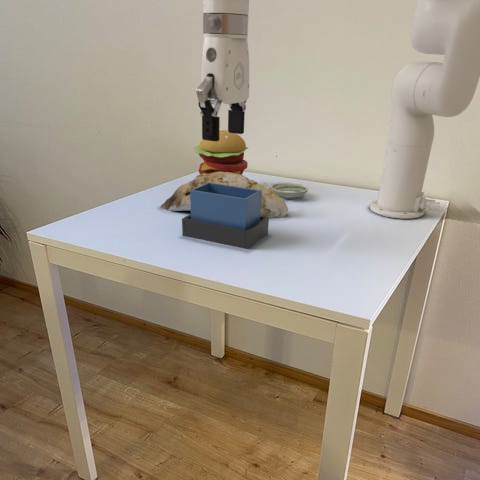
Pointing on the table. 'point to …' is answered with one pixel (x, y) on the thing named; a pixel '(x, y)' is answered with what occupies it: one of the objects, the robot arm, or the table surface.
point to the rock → (269, 199)
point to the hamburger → (222, 154)
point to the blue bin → (226, 205)
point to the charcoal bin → (225, 232)
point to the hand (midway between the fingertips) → (223, 136)
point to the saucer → (289, 190)
